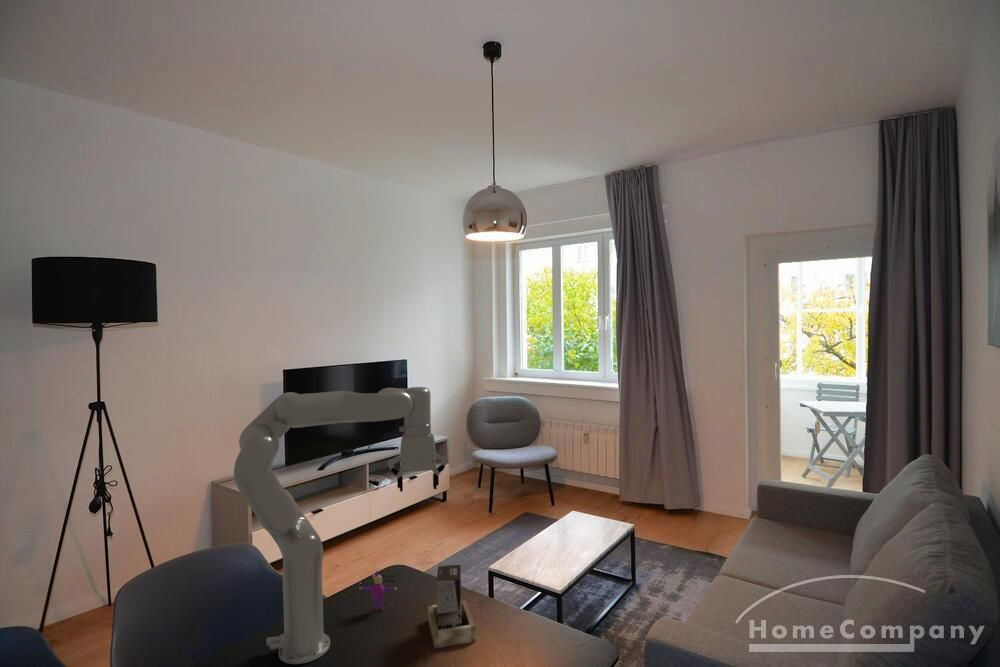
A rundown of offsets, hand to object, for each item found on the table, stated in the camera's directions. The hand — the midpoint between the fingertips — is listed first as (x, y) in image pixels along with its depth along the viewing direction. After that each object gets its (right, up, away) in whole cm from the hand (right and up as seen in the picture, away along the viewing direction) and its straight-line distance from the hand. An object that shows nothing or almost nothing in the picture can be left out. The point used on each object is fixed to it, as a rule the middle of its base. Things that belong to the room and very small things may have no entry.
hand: (418, 489), depth 155 cm
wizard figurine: (-12, -37, +2) cm, 39 cm away
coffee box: (+10, -36, -9) cm, 39 cm away
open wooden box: (+10, -36, -9) cm, 38 cm away
